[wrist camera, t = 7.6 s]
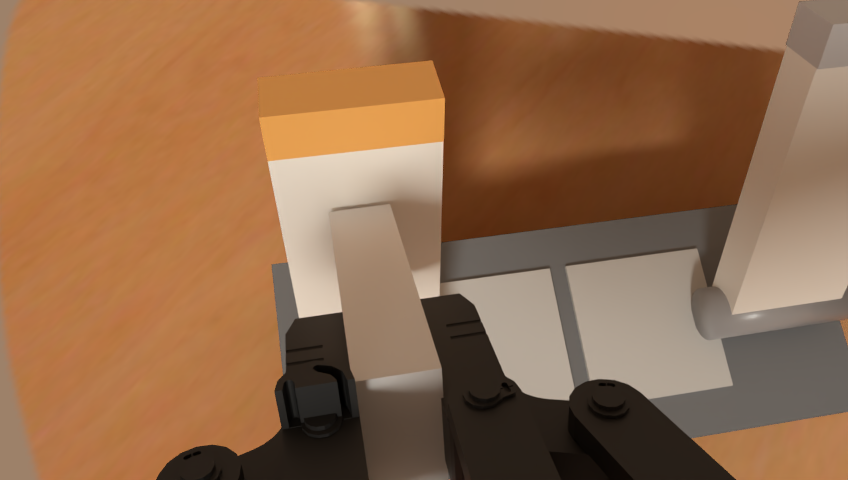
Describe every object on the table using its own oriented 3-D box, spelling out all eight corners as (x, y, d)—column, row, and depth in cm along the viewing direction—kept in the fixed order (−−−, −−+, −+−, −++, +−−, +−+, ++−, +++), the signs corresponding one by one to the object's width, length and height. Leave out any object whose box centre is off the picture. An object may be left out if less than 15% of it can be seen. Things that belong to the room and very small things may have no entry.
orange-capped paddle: (442, 345, 26) (452, 54, 17) (453, 389, 24) (468, 99, 16) (298, 366, 25) (234, 76, 17) (301, 413, 24) (235, 124, 15)
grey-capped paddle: (814, 295, 27) (949, -16, 20) (843, 330, 26) (1000, 10, 19) (687, 314, 27) (778, 1, 19) (710, 351, 25) (818, 28, 18)
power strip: (864, 211, 33) (934, 177, 29) (924, 393, 31) (1008, 384, 27) (283, 288, 30) (270, 263, 26) (305, 497, 27) (296, 505, 23)
